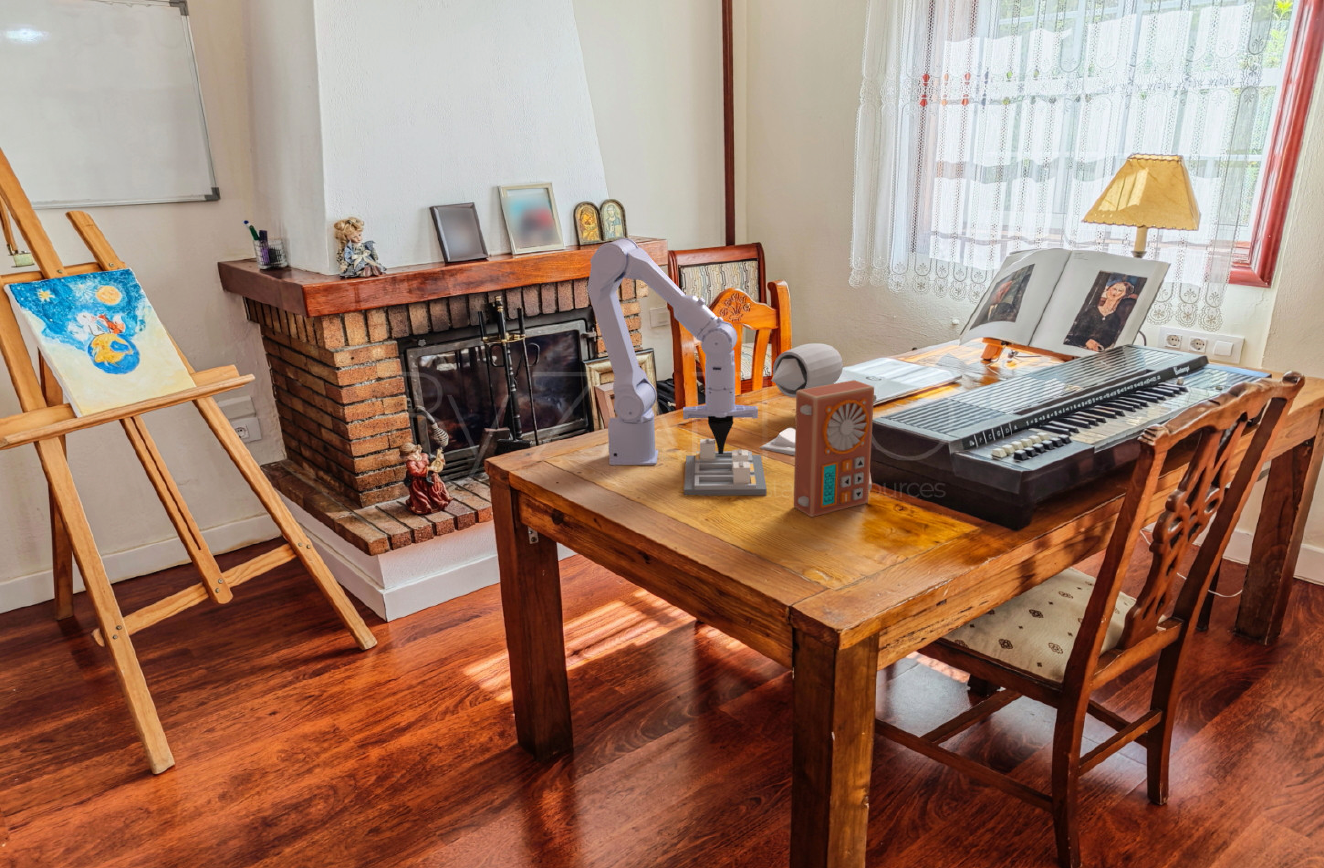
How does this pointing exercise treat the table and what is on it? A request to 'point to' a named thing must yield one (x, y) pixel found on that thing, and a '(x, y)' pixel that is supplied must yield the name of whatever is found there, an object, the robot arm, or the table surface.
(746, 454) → the slider mid
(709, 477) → the switch unit
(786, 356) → the jet engine
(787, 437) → the light switch
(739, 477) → the slider near
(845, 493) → the control panel
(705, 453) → the slider far
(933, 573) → the table surface
